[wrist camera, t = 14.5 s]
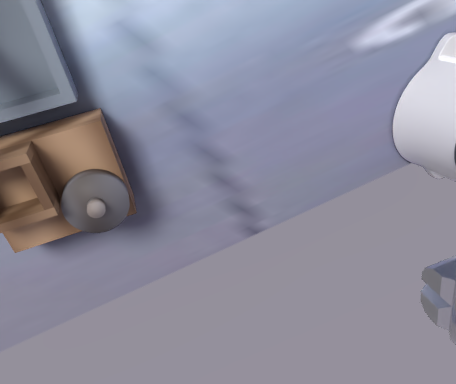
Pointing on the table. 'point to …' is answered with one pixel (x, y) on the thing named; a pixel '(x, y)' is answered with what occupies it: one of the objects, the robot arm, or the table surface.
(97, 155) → the wooden holder block
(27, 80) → the tray
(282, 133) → the table surface
